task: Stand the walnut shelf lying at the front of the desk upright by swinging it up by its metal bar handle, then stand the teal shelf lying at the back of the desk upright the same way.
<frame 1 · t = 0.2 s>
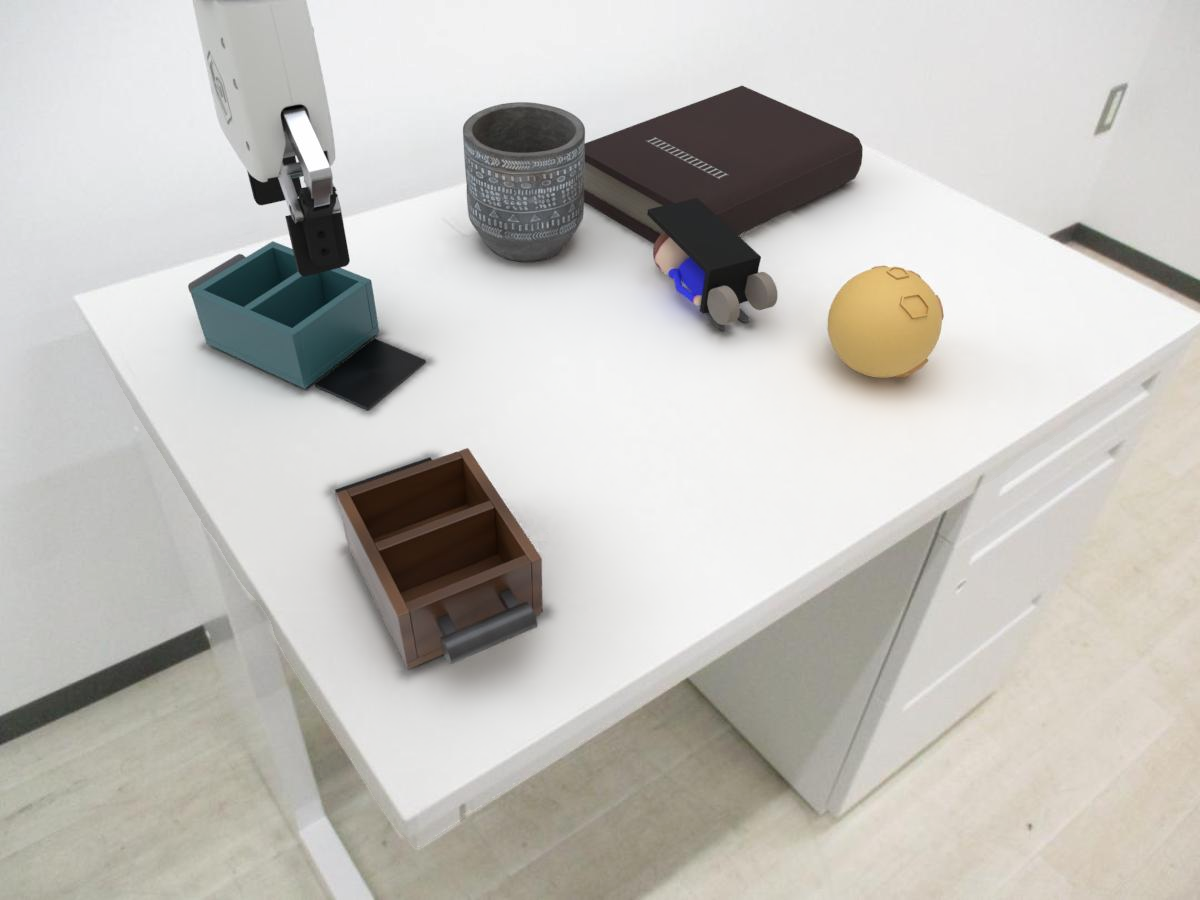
hand: (300, 232, 62), 21 cm above the table, tool pointing down, fingers open, 9 cm apart
stress ball: (871, 367, 89), on the table
teal shelf: (275, 306, 87), point 3 cm above the table, hinge at 0.0°
dark grey flat plate: (345, 362, 86), on the table
planter: (526, 242, 102), on the table
charcoal rectangular slab: (411, 524, 72), on the table
walnut shelf: (448, 568, 65), point 3 cm above the table, hinge at 0.0°
figurine character: (703, 299, 96), on the table, touching book
book: (716, 192, 112), on the table, touching figurine character
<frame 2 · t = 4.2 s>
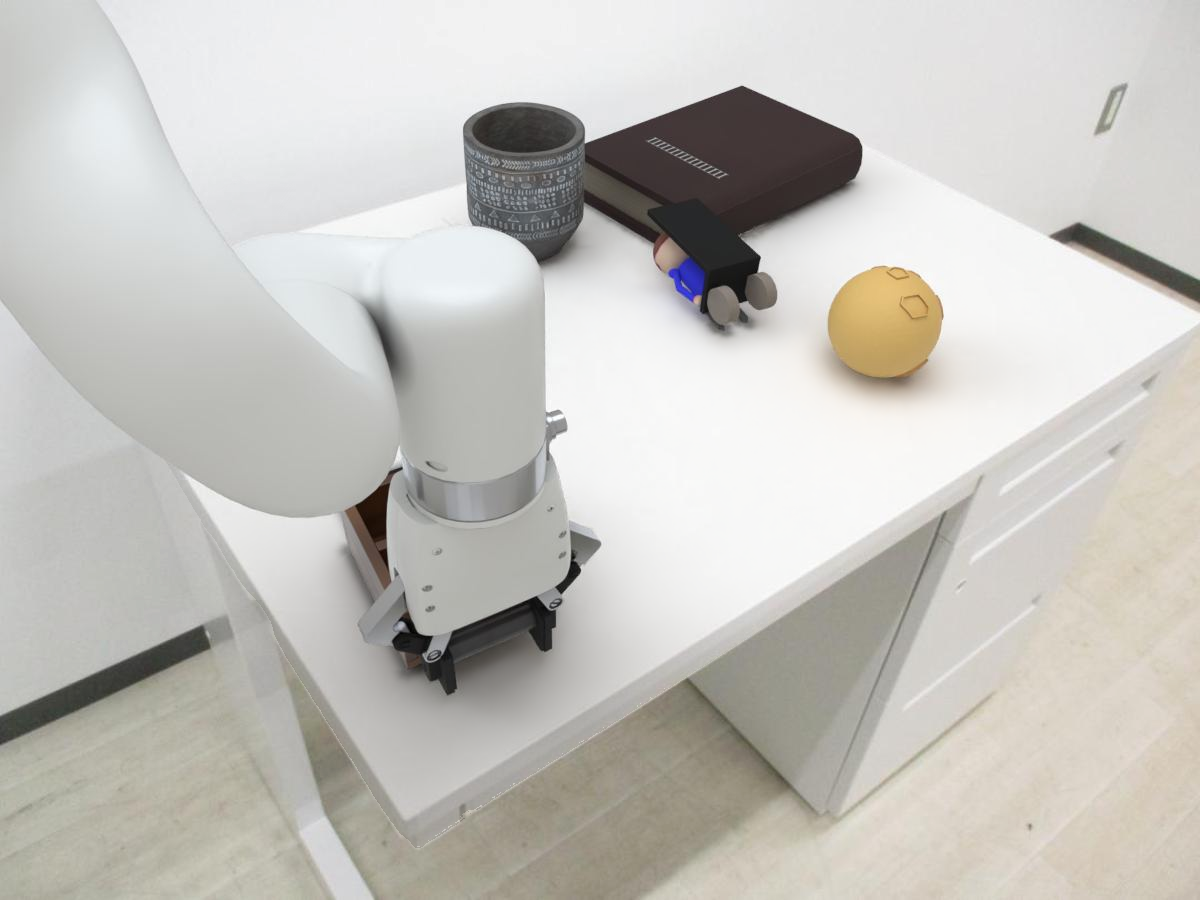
hand: (490, 654, 62), 2 cm above the table, tool pointing down, fingers closed on walnut shelf, 6 cm apart
walnut shelf: (448, 568, 65), point 3 cm above the table, hinge at 0.0°, touching gripper
everything else where it was.
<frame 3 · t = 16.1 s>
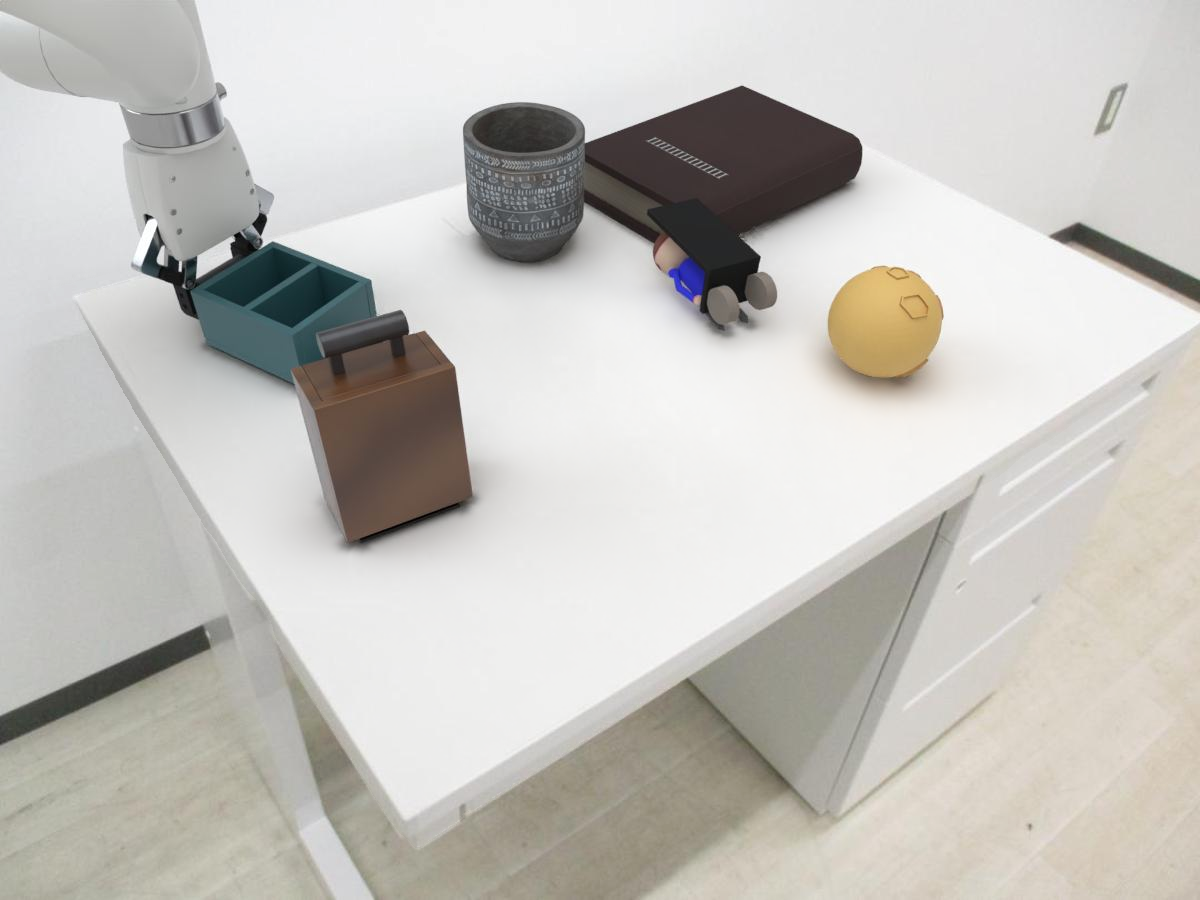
hand: (226, 298, 90), 2 cm above the table, tool pointing down, fingers closed on teal shelf, 6 cm apart
teal shelf: (275, 306, 87), point 3 cm above the table, hinge at 0.0°, touching gripper
walnut shelf: (382, 418, 69), point 8 cm above the table, hinge at 96.2°
everything else where it was.
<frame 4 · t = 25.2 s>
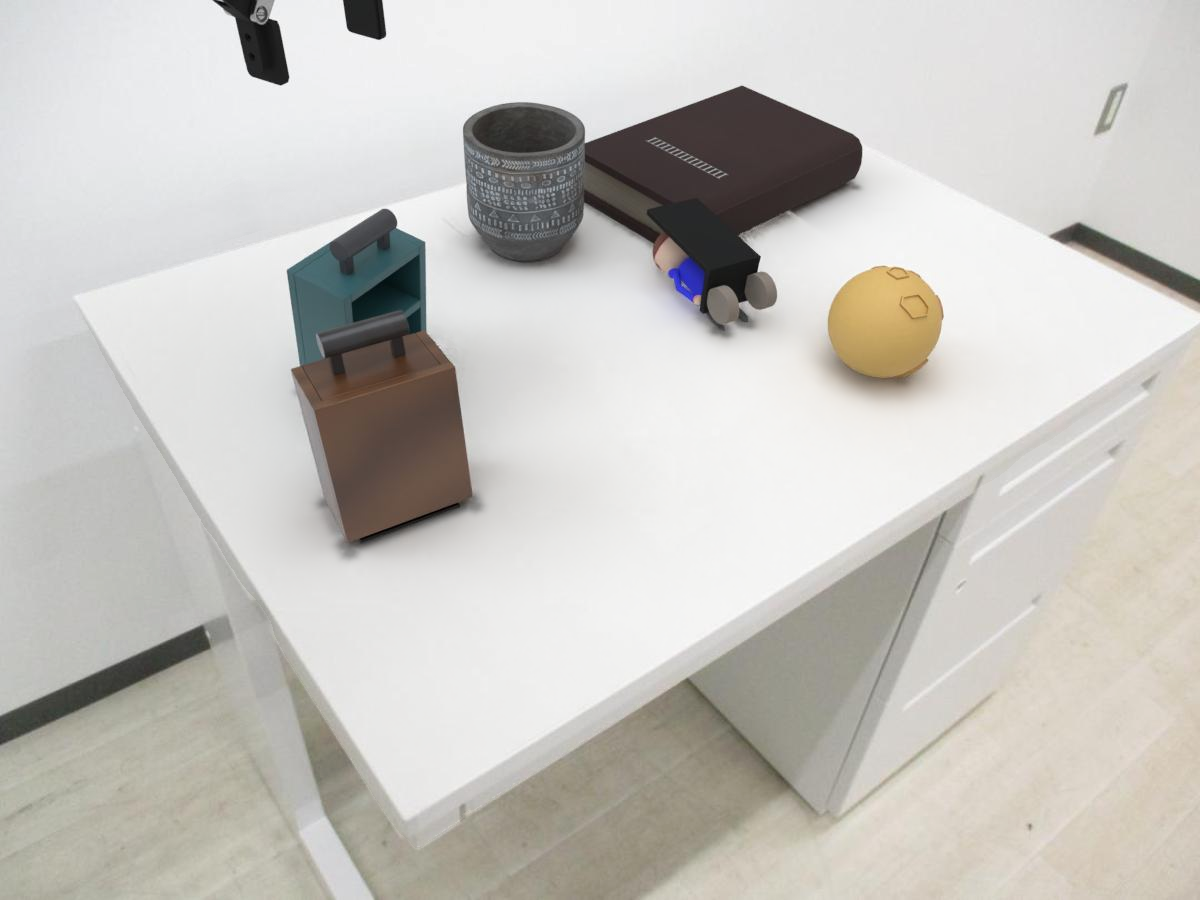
hand: (320, 56, 66), 28 cm above the table, tool pointing down, fingers open, 9 cm apart
teal shelf: (361, 298, 79), point 8 cm above the table, hinge at 96.0°
everything else where it was.
at the end: walnut shelf at +96° (first picture: +0°); teal shelf at +96° (first picture: +0°) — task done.
